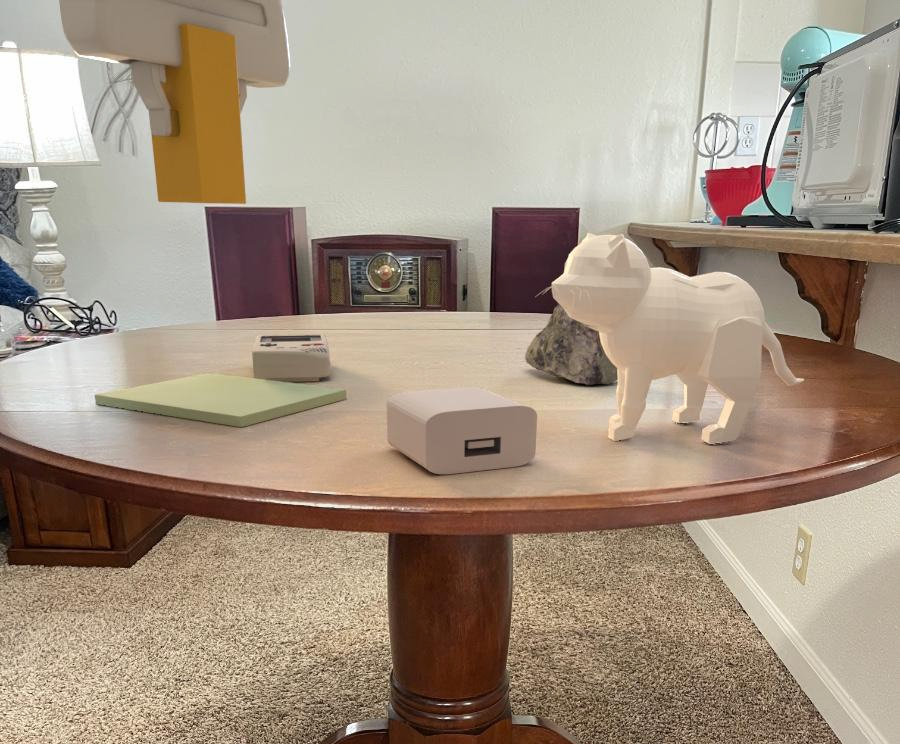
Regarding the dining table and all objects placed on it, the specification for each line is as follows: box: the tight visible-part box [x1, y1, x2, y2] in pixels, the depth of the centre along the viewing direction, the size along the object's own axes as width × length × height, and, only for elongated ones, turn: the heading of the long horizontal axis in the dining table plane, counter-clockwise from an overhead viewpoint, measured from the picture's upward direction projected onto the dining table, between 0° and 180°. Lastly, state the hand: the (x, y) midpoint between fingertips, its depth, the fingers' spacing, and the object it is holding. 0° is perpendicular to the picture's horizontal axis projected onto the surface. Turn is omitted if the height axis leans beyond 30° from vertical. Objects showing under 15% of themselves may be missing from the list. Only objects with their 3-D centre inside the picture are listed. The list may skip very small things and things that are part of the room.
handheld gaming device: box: [251, 333, 332, 383], centre depth 109 cm, size 9×15×4 cm, turn 9°
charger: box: [386, 386, 538, 475], centre depth 74 cm, size 5×9×15 cm
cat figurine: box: [535, 232, 805, 443], centre depth 77 cm, size 25×10×17 cm, turn 102°
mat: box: [94, 372, 348, 428], centre depth 92 cm, size 20×16×1 cm
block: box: [150, 24, 247, 205], centre depth 71 cm, size 5×5×12 cm
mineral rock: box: [524, 303, 618, 386], centre depth 105 cm, size 13×11×10 cm
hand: (196, 139), depth 71 cm, fingers closed on block, 5 cm apart
